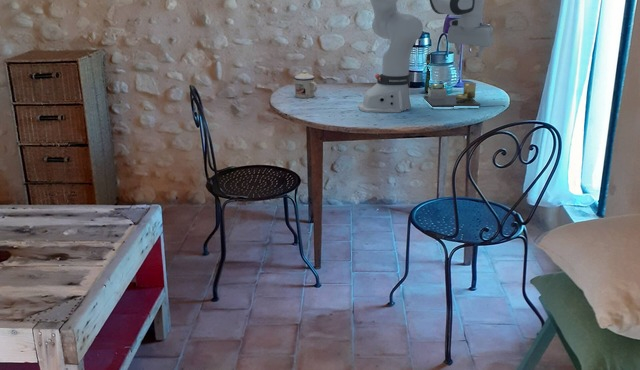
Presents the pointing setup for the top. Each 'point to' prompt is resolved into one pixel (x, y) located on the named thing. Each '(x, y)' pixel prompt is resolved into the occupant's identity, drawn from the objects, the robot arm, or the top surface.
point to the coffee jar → (427, 73)
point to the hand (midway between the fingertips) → (468, 55)
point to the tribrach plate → (445, 98)
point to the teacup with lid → (305, 85)
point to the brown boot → (467, 91)
